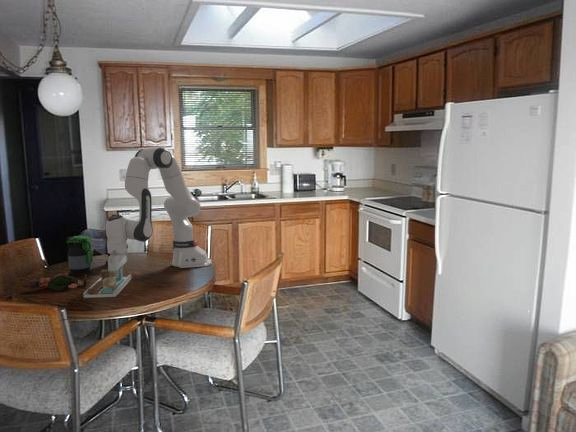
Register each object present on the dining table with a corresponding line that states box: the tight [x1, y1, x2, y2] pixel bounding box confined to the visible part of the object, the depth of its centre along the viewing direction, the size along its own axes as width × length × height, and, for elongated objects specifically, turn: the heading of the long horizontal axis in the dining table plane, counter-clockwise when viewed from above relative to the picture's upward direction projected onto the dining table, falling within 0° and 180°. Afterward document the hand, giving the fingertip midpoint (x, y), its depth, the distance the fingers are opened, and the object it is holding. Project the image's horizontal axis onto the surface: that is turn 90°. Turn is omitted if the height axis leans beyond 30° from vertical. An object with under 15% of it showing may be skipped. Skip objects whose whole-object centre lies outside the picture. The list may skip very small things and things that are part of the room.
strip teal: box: [103, 269, 124, 294], centre depth 219 cm, size 4×20×6 cm, turn 4°
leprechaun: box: [28, 272, 88, 292], centre depth 221 cm, size 11×10×25 cm
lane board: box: [82, 274, 132, 299], centre depth 222 cm, size 14×28×2 cm, turn 4°
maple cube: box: [103, 276, 116, 290], centre depth 213 cm, size 4×4×4 cm
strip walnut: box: [87, 269, 110, 294], centre depth 218 cm, size 4×20×6 cm, turn 4°
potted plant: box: [65, 235, 94, 276], centre depth 245 cm, size 11×13×20 cm
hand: (118, 275), depth 227 cm, fingers open, 4 cm apart
